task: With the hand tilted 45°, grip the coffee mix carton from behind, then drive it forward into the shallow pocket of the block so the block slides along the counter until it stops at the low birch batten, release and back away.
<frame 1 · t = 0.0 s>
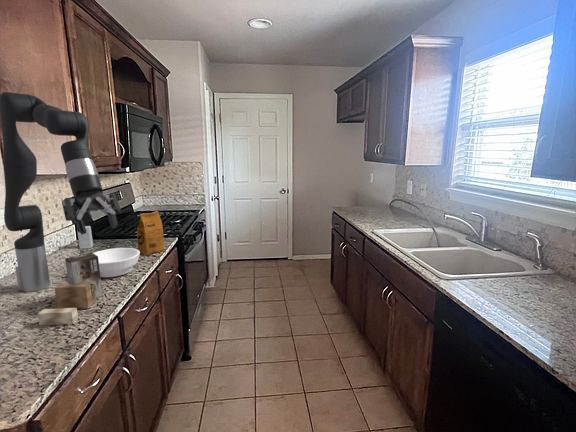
hand: (99, 230, 94), 31 cm above the counter, tool tilted 20°, fingers open, 8 cm apart
block: (76, 294, 115), point 4 cm above the counter, slide at 0.0 cm
batten: (59, 322, 104), on the counter
coffee box: (87, 298, 122), on the counter
bowl: (114, 272, 148), on the counter
skincare box: (86, 247, 186), on the counter
coffee package: (151, 252, 178), on the counter
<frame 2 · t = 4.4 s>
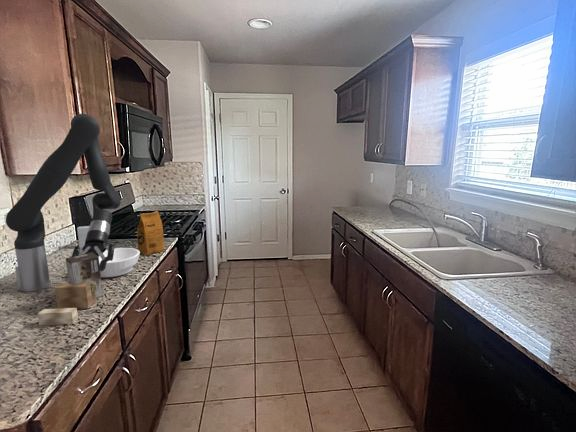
hand: (88, 271, 122), 10 cm above the counter, tool tilted 45°, fingers open, 8 cm apart
coffee box: (87, 297, 122), on the counter, touching gripper
everything else where it was.
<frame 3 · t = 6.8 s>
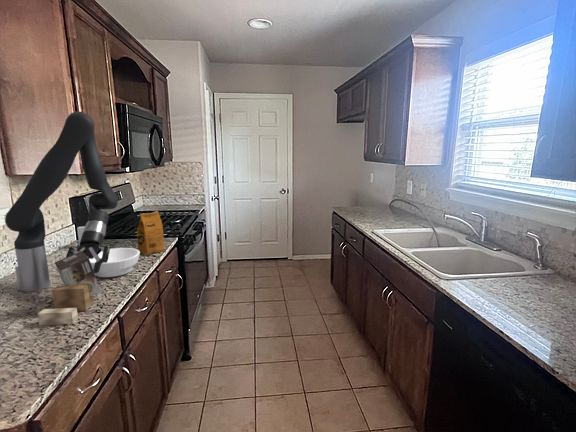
hand: (82, 273, 118), 10 cm above the counter, tool tilted 45°
block: (73, 296, 113), point 4 cm above the counter, slide at 1.6 cm, touching coffee box
coffee box: (85, 294, 121), point 1 cm above the counter, touching block, gripper
everything else where it was.
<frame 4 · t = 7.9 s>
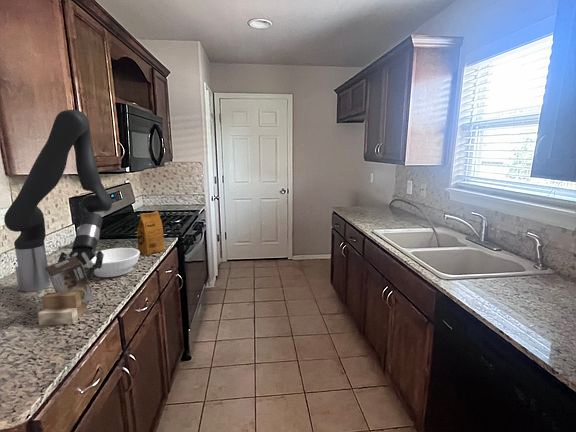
hand: (75, 279, 113), 10 cm above the counter, tool tilted 45°
block: (64, 303, 108), point 4 cm above the counter, slide at 6.9 cm, touching batten, coffee box
coffee box: (77, 301, 116), point 1 cm above the counter, touching block, gripper
everything else where it was.
when the fingers open (10 cm above the counter, at t = 10.4 s): coffee box drops 1 cm, on the counter.
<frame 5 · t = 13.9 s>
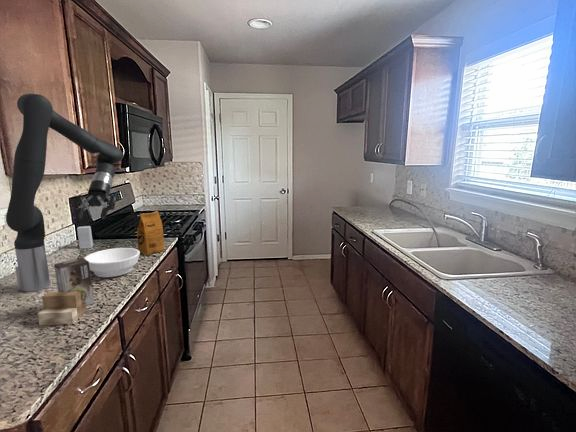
hand: (90, 217, 126), 29 cm above the counter, tool tilted 45°, fingers open, 8 cm apart
block: (65, 303, 108), point 4 cm above the counter, slide at 6.8 cm
coffee box: (77, 305, 116), on the counter
everything else where it was.
at the end: block slide at 6.8 cm; coffee box inside the target area (2.9 cm from its centre), on the counter; coffee box tilted 0° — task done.
